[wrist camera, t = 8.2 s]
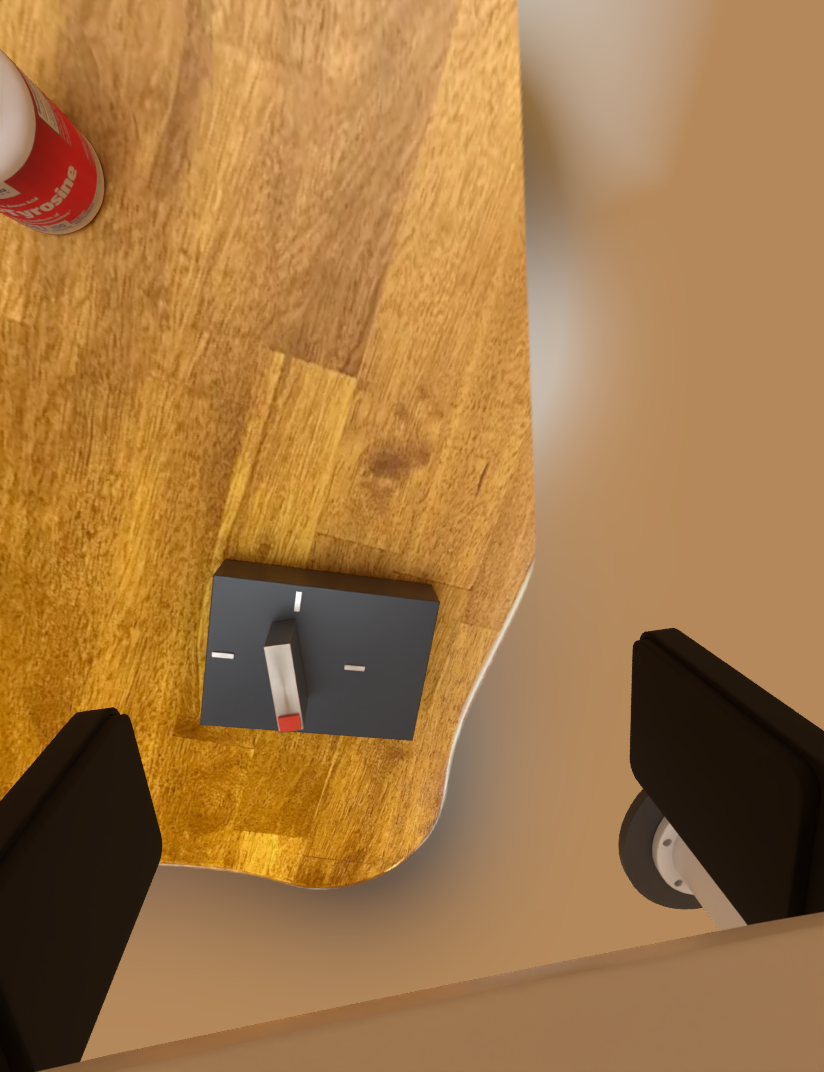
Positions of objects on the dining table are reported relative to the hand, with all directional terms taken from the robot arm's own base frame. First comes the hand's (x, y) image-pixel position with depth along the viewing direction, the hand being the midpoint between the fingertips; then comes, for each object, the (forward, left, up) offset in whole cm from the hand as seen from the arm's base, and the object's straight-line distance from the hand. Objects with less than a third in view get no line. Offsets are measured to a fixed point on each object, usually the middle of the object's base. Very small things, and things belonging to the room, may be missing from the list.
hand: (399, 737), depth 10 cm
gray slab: (+3, +12, -25) cm, 28 cm away
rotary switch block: (+1, +12, -28) cm, 31 cm away
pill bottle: (+20, -15, -28) cm, 38 cm away
